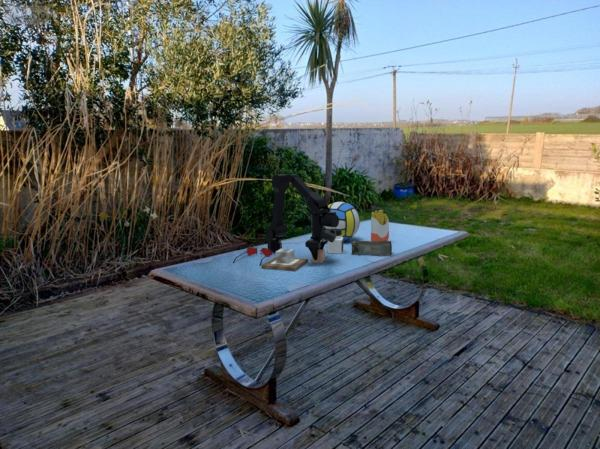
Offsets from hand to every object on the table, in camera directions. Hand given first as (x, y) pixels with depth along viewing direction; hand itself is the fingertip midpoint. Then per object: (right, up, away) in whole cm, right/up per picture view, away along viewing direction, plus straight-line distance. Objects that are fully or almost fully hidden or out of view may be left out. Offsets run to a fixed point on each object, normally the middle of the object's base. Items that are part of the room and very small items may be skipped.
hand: (318, 258), depth 197 cm
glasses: (-31, -2, +4) cm, 31 cm away
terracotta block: (0, -1, 0) cm, 1 cm away
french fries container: (+35, +5, +34) cm, 49 cm away
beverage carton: (+27, +1, +12) cm, 29 cm away
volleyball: (+14, +6, +43) cm, 46 cm away
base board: (-15, -3, -6) cm, 16 cm away
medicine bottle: (+9, +2, +17) cm, 19 cm away
